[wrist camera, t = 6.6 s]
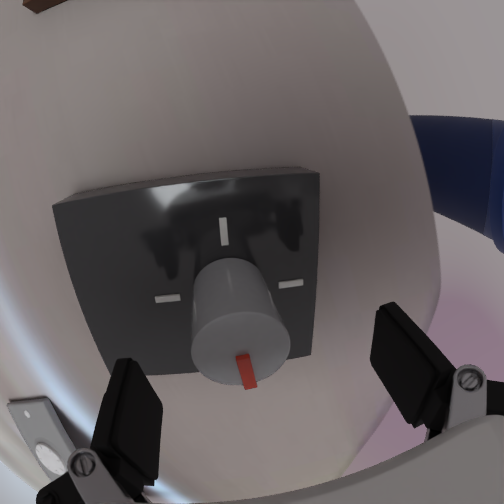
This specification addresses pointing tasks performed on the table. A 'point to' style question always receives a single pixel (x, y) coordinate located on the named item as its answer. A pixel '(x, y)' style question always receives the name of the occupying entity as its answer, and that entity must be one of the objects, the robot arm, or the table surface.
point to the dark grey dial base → (187, 256)
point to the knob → (236, 325)
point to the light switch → (43, 434)
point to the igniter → (40, 4)
